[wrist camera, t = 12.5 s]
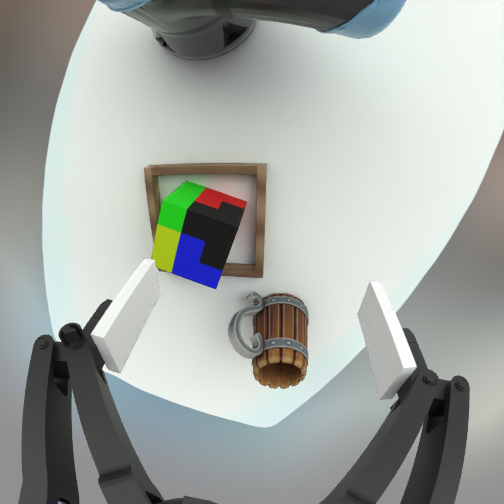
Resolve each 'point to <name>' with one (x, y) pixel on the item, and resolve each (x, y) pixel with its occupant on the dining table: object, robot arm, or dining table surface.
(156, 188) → the square wooden frame
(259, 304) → the mug
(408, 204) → the dining table surface
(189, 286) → the dining table surface
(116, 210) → the dining table surface
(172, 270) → the puzzle toy
